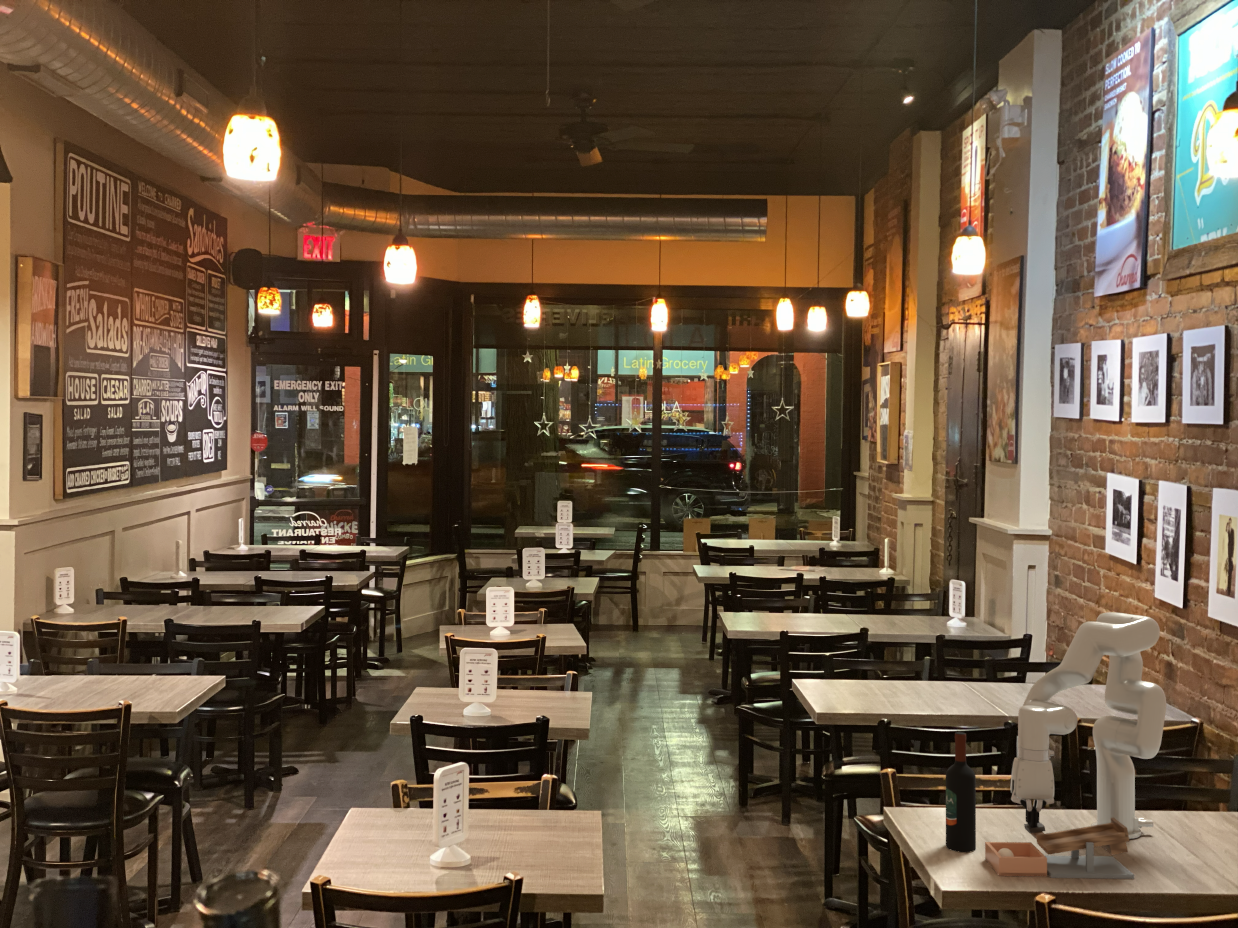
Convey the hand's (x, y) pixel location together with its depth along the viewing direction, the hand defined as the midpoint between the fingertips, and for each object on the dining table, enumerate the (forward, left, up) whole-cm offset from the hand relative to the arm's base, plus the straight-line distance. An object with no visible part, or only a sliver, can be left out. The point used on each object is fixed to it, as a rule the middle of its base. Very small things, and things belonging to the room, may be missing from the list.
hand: (1032, 825), depth 289 cm
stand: (-9, +11, -7) cm, 16 cm away
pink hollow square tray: (+8, +11, -7) cm, 15 cm away
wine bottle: (+17, -4, -8) cm, 19 cm away
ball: (+10, +11, -5) cm, 15 cm away
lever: (-9, +6, -4) cm, 12 cm away
